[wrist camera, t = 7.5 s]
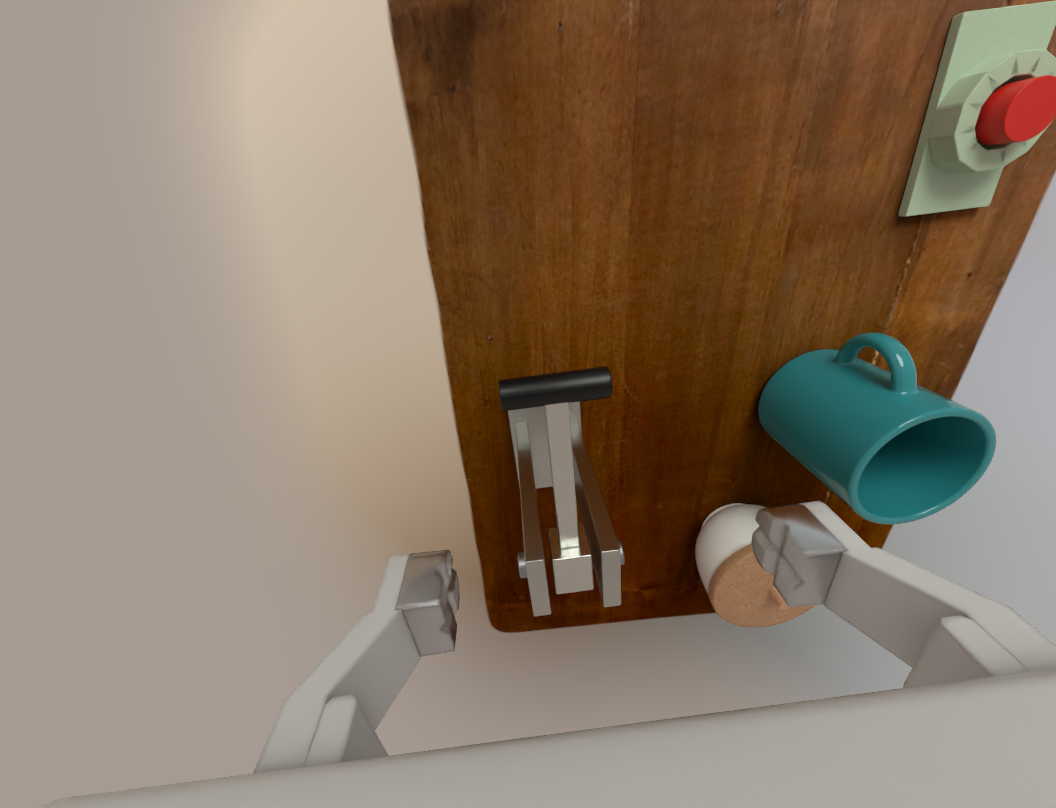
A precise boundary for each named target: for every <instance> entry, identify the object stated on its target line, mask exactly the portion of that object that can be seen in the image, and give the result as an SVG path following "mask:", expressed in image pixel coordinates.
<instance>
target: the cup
mask: <svg viewBox="0 0 1056 808" xmlns="http://www.w3.org/2000/svg"><path fill="white" fill-rule="evenodd" d="M864 347H871V348H873V349H875V350H877V351H878V352H879V353H880V354H881V355H882V356H883V357H884V359H885V360H886V362H887V364H888V366H889V369H890V372H888V371H886V370H884V369H882V368H880V367H877V366H875V365H873V364H871V363H869V362H866V361H864V360H862V359H860V358H858V357H857V356H858V354H859V353H860V351H861V350H862V349H863V348H864ZM758 415H759V420H760V423H761V425H762V427H763V429H764V430H765V431H766V433H767V434H768V435H769V436H770V437H772V438H773V439H774V440H775V441H776V442H777V443H778V444H779V445H780V446H782V447H783V448H784V449H785V450H786V451H787V452H788V453H789V454H791V455H792V456H793V457H794V458H795V459H796V460H797V461H798V462H799V463H801V464H802V465H803V466H804V467H805V468H806V469H807V470H808V471H810V472H811V473H812V474H813V475H814V476H815V477H816V478H817V479H818V480H820V481H821V482H822V483H823V484H824V485H825V486H826V487H827V488H829V489H830V490H831V491H832V492H833V493H834V494H835V495H836V496H837V497H839V498H840V499H841V500H842V501H843V502H844V503H845V504H846V505H848V506H849V507H850V508H851V509H852V510H853V511H854V512H855V513H857V514H858V515H859V516H860V517H862V518H864V519H866V520H868V521H871V522H874V523H879V524H901V523H907V522H911V521H915V520H919V519H922V518H924V517H927V516H929V515H932V514H934V513H936V512H938V511H940V510H942V509H944V508H946V507H947V506H949V505H950V504H952V503H953V502H955V501H956V500H958V499H959V498H960V497H962V496H963V495H964V494H965V493H966V492H967V491H968V490H970V489H971V488H972V487H973V486H974V485H975V484H976V482H977V481H978V480H979V479H980V478H981V477H982V475H983V474H984V472H985V471H986V469H987V467H988V466H989V464H990V462H991V460H992V458H993V455H994V452H995V446H996V435H995V431H994V428H993V426H992V424H991V423H990V422H989V420H988V419H986V418H985V417H984V416H983V415H982V414H980V413H978V412H976V411H974V410H972V409H970V408H967V407H965V406H963V405H961V404H958V403H956V402H954V401H952V400H950V399H948V398H945V397H943V396H941V395H939V394H937V393H934V392H932V391H930V390H928V389H926V388H923V387H921V386H919V385H917V375H916V368H915V364H914V361H913V359H912V357H911V355H910V353H909V352H908V350H907V349H906V347H905V346H904V345H903V344H902V343H901V342H899V341H898V340H897V339H895V338H893V337H892V336H889V335H886V334H882V333H864V334H860V335H857V336H855V337H853V338H851V339H849V340H848V341H847V342H845V343H844V344H843V345H842V347H841V348H840V349H839V350H834V349H822V350H815V351H811V352H807V353H805V354H802V355H800V356H798V357H796V358H794V359H792V360H790V361H789V362H787V363H786V364H785V365H783V366H782V367H781V368H780V369H779V370H777V371H776V372H775V374H774V375H773V376H772V377H771V378H770V380H769V381H768V382H767V384H766V385H765V387H764V389H763V391H762V394H761V396H760V400H759V405H758Z"/></svg>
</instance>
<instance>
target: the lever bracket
mask: <svg viewBox="0 0 1056 808" xmlns="http://www.w3.org/2000/svg"><path fill="white" fill-rule="evenodd" d="M569 412H570V425H571V438H572V452H573V465H574V478H575V491H576V499H577V502H578V506H579V510H580V514H581V518H582V522H583V525H584V526H585V530H586V534H587V538H588V542H589V546H590V550H591V554H592V562H593V566H594V570H595V574H596V578H597V582H598V586H599V590H600V594H601V598H602V602H603V606H604V607H610V606H618V605H621V565H624V553H623V548H622V545H621V542H620V540H617V538H616V535H615V532H614V530H613V527H612V524H611V521H610V518H609V515H608V512H607V509H606V506H605V503H604V500H603V497H602V494H601V491H600V488H599V485H598V482H597V479H596V476H595V473H594V470H593V468H592V465H591V462H590V459H589V456H588V453H587V450H586V447H585V444H584V441H583V438H582V428H581V412H580V402H572V403H569ZM508 417H509V423H510V430H511V436H512V442H513V449H514V455H515V462H516V468H517V475H518V481H519V488H520V496H521V511H522V525H523V540H524V552H519V553H518V566H519V574H520V578H527V577H528V583H529V589H530V596H531V602H532V608H533V614H534V616H542V615H550V614H551V607H550V599H549V591H548V583H547V574H546V566H545V558H544V550H543V542H542V534H541V526H540V517H539V509H538V501H537V493H536V489H537V488H545V487H552V486H553V484H552V475H551V466H550V457H549V447H548V438H547V429H546V419H545V410H544V406H541V407H533V408H525V409H518V410H510V411H508Z"/></svg>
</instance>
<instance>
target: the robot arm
mask: <svg viewBox="0 0 1056 808" xmlns="http://www.w3.org/2000/svg"><path fill="white" fill-rule="evenodd" d="M755 520H756V522H757V523H758V524H759V527H758V528H757V529H756V530H755V531H754V532H753V535H752V542H751V543H752V548H753V553H754V555H755V557H756V560H757V562H758V563H759V565H760V566H761V568H762V569H763V570H765V571H766V572H768V573H770V574H771V575H773V576H774V580H773V585H774V586H775V588H776V589H777V591H778V592H779V593H780V595H781V596H782V598H783V599H784V601H785V602H786V603H787V605H788V606H789V607H799V606H809V605H819V604H824V606H825V607H827V608H828V609H829V610H831V611H832V612H834V613H835V614H836V615H838V616H839V617H841V618H842V619H844V620H845V621H847V622H848V623H850V624H851V625H852V626H854V627H855V628H856V629H858V630H859V631H861V632H862V633H864V634H865V635H867V636H868V637H869V638H871V639H872V640H874V641H875V642H877V643H878V644H879V645H881V646H882V647H884V648H885V649H886V650H888V651H889V652H891V653H892V654H894V655H895V656H896V657H898V658H899V659H901V660H902V661H904V662H905V663H906V664H908V665H909V666H911V667H912V670H911V672H910V673H909V675H908V677H907V679H906V681H905V682H904V687H903V688H901V689H894V690H886V691H878V692H871V693H863V694H855V695H848V696H840V697H833V698H825V699H817V700H810V701H803V702H795V703H787V704H779V705H772V706H764V707H756V708H749V709H741V710H733V711H726V712H718V713H710V714H702V715H695V716H688V717H680V718H672V719H665V720H657V721H650V722H642V723H635V724H627V725H619V726H612V727H604V728H597V729H589V730H581V731H574V732H566V733H558V734H551V735H543V736H536V737H528V738H521V739H513V740H505V741H498V742H490V743H483V744H475V745H468V746H460V747H453V748H444V749H437V750H429V751H422V752H414V753H406V754H399V755H391V756H388V754H387V752H386V750H385V749H384V747H383V745H382V743H381V742H380V740H379V738H378V736H377V734H376V733H375V730H376V728H377V727H378V725H379V723H380V722H381V720H382V719H383V717H384V715H385V714H386V712H387V711H388V709H389V708H390V706H391V705H392V703H393V701H394V700H395V698H396V696H397V695H398V694H399V692H400V690H401V689H402V687H403V686H404V684H405V683H406V681H407V679H408V678H409V676H410V675H411V673H412V672H413V670H414V668H415V667H416V665H417V664H418V662H419V661H420V657H421V656H427V655H433V654H440V653H446V652H452V651H455V641H456V631H457V624H456V620H455V617H454V614H455V613H456V612H457V610H458V609H459V583H458V576H457V573H456V571H455V570H454V569H452V562H453V559H452V556H451V552H450V551H449V550H442V551H432V552H422V553H413V554H406V555H397V556H391V558H390V559H389V560H388V562H387V566H386V569H385V573H384V576H383V579H382V582H381V586H380V589H379V592H378V596H377V599H376V602H375V606H374V609H373V612H372V613H369V614H366V615H365V616H364V617H363V618H362V619H361V620H360V621H359V622H358V623H357V624H356V625H355V627H353V628H352V630H351V631H350V632H349V633H348V634H347V635H346V636H345V637H344V638H343V639H342V640H341V641H340V642H339V643H338V644H337V645H336V646H335V648H334V649H333V650H332V651H331V652H330V653H329V654H328V655H327V656H326V657H325V658H324V659H323V660H322V661H321V662H320V663H319V664H318V666H317V667H316V668H315V669H314V670H313V671H312V672H311V673H310V674H309V675H308V676H307V677H306V678H305V679H304V680H303V681H302V682H301V684H300V685H299V686H298V687H297V688H296V689H295V690H294V691H293V692H292V693H291V694H290V695H289V696H288V697H287V698H286V699H285V700H284V702H283V704H282V706H281V709H280V711H279V713H278V716H277V718H276V720H275V723H274V725H273V728H272V730H271V732H270V734H269V737H268V739H267V742H266V744H265V747H264V749H263V751H262V753H261V756H260V758H259V760H258V763H257V765H256V768H255V770H254V772H253V774H246V775H238V776H231V777H223V778H215V779H208V780H201V781H192V782H186V783H177V784H170V785H162V786H154V787H147V788H139V789H131V790H124V791H115V792H107V793H99V794H92V795H83V796H75V797H69V798H63V799H59V800H56V801H53V802H50V803H48V804H45V805H43V806H41V807H39V808H1056V645H1055V644H1054V643H1053V642H1051V641H1050V640H1049V639H1048V638H1046V637H1045V636H1044V635H1043V634H1042V633H1040V632H1039V631H1038V630H1036V629H1035V628H1034V627H1033V626H1032V625H1031V624H1029V623H1028V622H1027V621H1025V619H1023V618H1022V617H1021V616H1020V615H1018V614H1017V613H1016V612H1015V611H1013V610H1012V609H1011V608H1010V607H1007V606H1006V605H1003V604H1001V603H999V602H997V601H994V600H992V599H990V598H988V597H986V596H983V595H981V594H979V593H977V592H975V591H972V590H970V589H968V588H966V587H963V586H961V585H959V584H957V583H955V582H952V581H950V580H948V579H946V578H944V577H942V576H939V575H937V574H935V573H933V572H930V571H928V570H926V569H924V568H922V567H919V566H917V565H915V564H913V563H910V562H908V561H906V560H904V559H902V558H899V557H897V556H895V555H893V554H891V553H888V552H886V551H884V550H882V549H880V548H870V547H869V546H868V545H867V544H866V543H865V542H864V541H863V540H862V539H861V538H860V537H859V536H858V535H857V534H856V533H855V532H854V531H853V530H852V529H851V528H850V527H848V526H847V525H846V524H845V523H844V522H843V521H842V520H841V519H840V518H839V517H838V516H837V515H836V514H835V513H834V512H833V511H832V510H831V509H830V508H829V507H828V506H827V505H826V504H824V503H822V502H820V501H814V502H807V503H800V504H792V505H785V506H778V507H771V508H764V509H760V510H759V511H758V512H757V515H756V519H755Z"/></svg>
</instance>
